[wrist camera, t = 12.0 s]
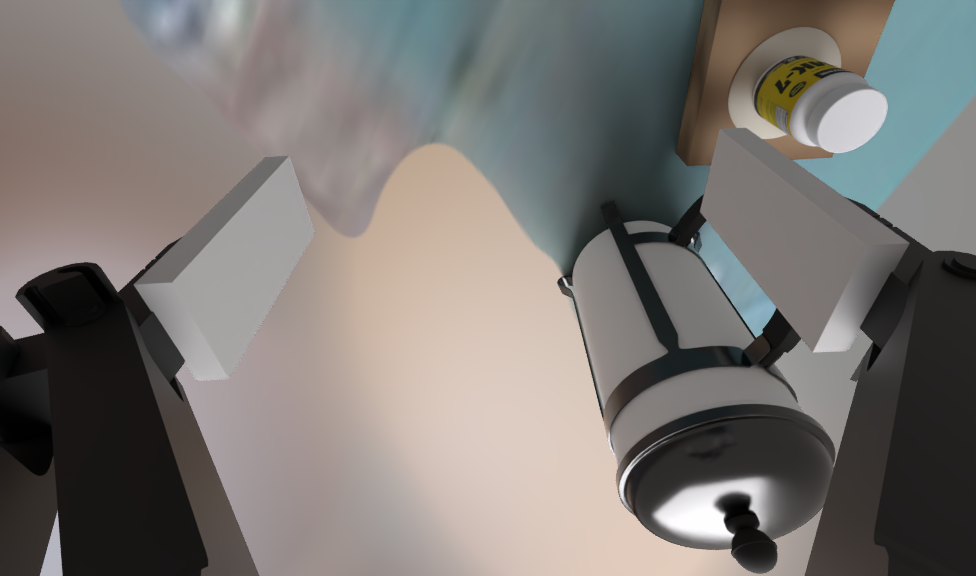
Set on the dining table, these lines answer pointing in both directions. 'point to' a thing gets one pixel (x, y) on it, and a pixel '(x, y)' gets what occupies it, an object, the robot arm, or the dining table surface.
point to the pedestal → (767, 63)
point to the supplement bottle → (819, 103)
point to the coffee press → (694, 395)
